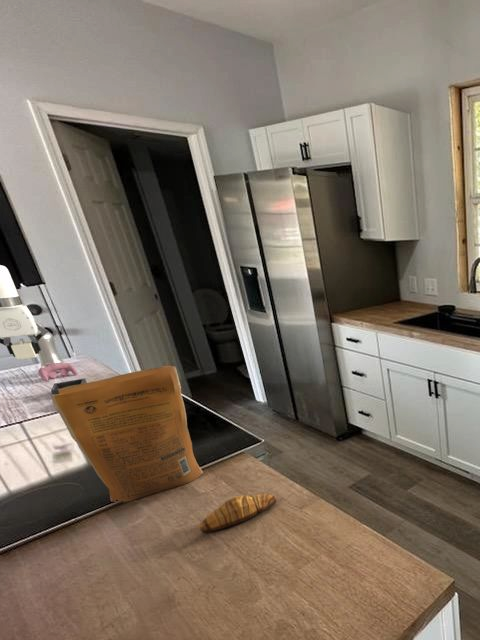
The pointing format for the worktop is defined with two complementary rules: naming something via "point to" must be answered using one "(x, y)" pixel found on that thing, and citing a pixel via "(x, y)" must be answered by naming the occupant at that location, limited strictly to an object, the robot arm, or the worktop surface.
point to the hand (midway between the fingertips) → (26, 353)
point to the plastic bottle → (48, 350)
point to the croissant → (237, 511)
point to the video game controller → (48, 370)
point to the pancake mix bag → (132, 431)
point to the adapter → (66, 385)
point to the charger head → (23, 349)
